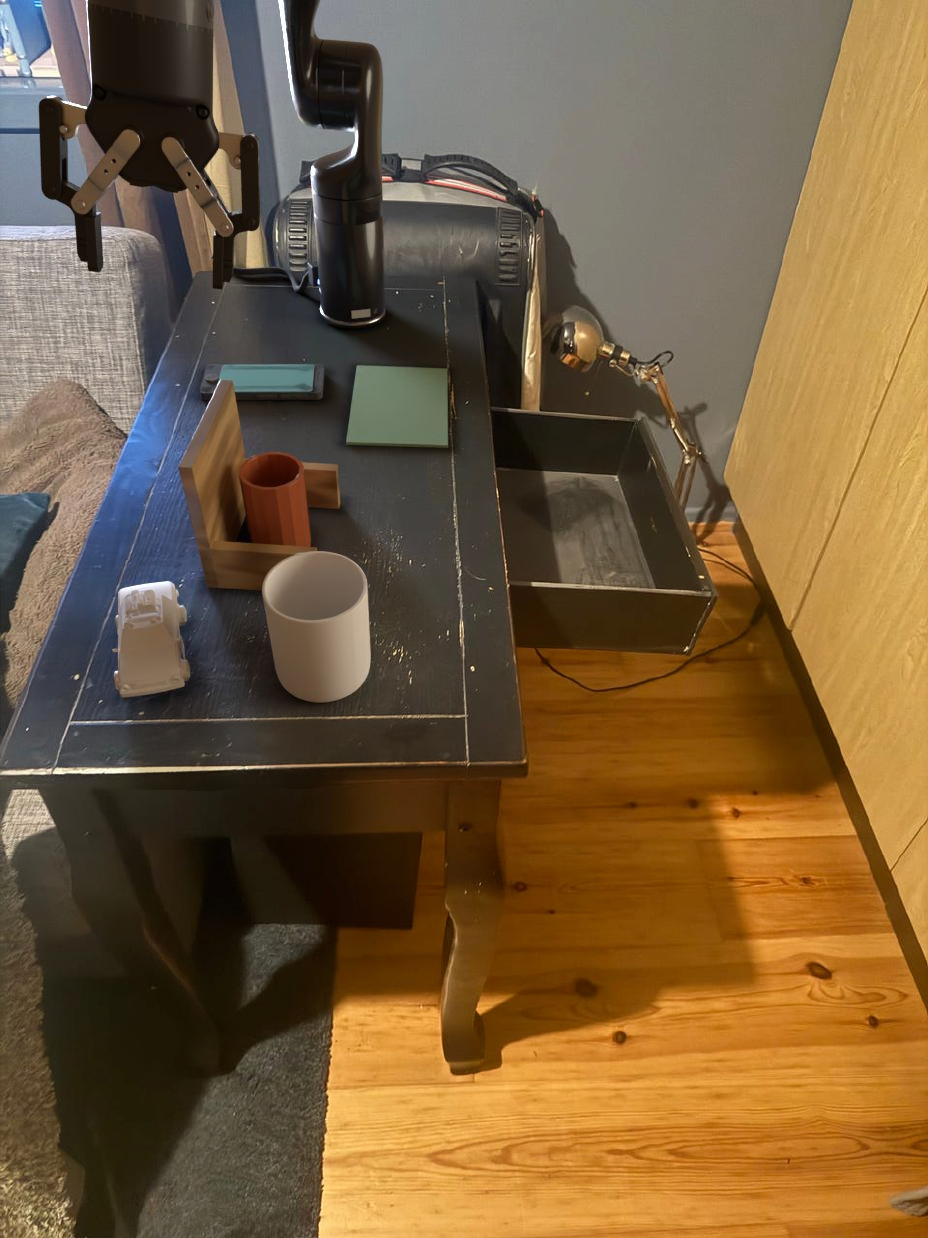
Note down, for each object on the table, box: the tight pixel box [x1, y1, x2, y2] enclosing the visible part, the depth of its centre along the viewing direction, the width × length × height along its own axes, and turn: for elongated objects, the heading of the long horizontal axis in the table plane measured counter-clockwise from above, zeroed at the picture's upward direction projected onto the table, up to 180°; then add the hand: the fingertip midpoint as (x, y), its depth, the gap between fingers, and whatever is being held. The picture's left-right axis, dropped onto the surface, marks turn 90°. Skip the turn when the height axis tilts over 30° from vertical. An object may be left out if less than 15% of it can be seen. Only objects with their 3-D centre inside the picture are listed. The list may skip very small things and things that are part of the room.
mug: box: [261, 550, 372, 703], centre depth 70 cm, size 12×8×10 cm
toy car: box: [111, 581, 191, 698], centre depth 70 cm, size 6×12×7 cm, turn 16°
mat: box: [345, 364, 449, 449], centre depth 103 cm, size 18×12×1 cm, turn 1°
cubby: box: [178, 380, 341, 592], centre depth 79 cm, size 11×14×14 cm
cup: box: [239, 451, 312, 547], centre depth 81 cm, size 6×6×9 cm
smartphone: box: [199, 363, 325, 401], centre depth 104 cm, size 7×1×15 cm
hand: (157, 278), depth 60 cm, fingers open, 8 cm apart
